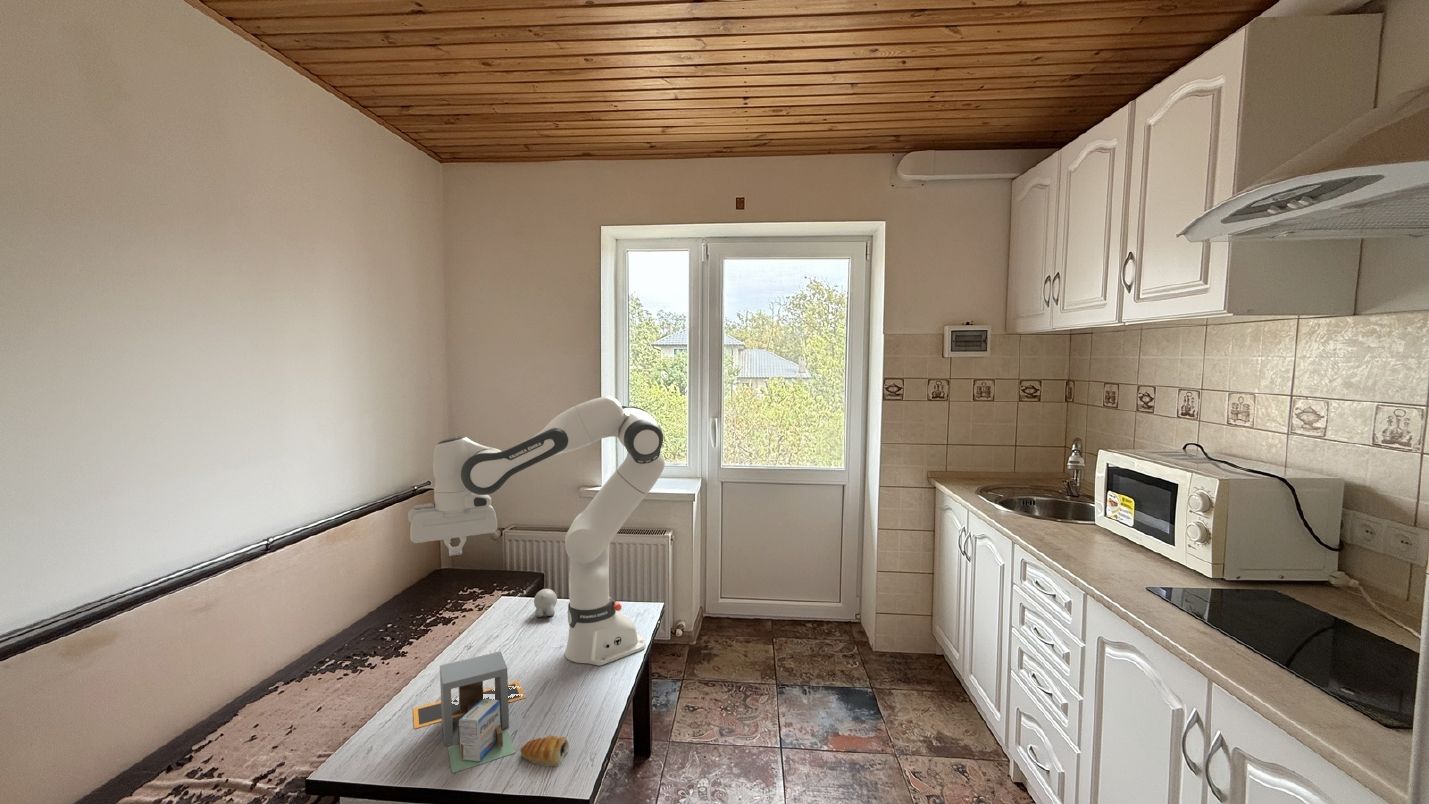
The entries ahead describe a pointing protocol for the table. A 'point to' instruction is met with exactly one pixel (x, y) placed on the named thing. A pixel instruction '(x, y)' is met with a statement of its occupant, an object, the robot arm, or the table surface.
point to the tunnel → (470, 674)
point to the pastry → (546, 750)
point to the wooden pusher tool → (468, 700)
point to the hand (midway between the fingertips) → (455, 554)
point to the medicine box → (479, 729)
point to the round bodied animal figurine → (545, 602)
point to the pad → (493, 754)
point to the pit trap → (454, 707)
